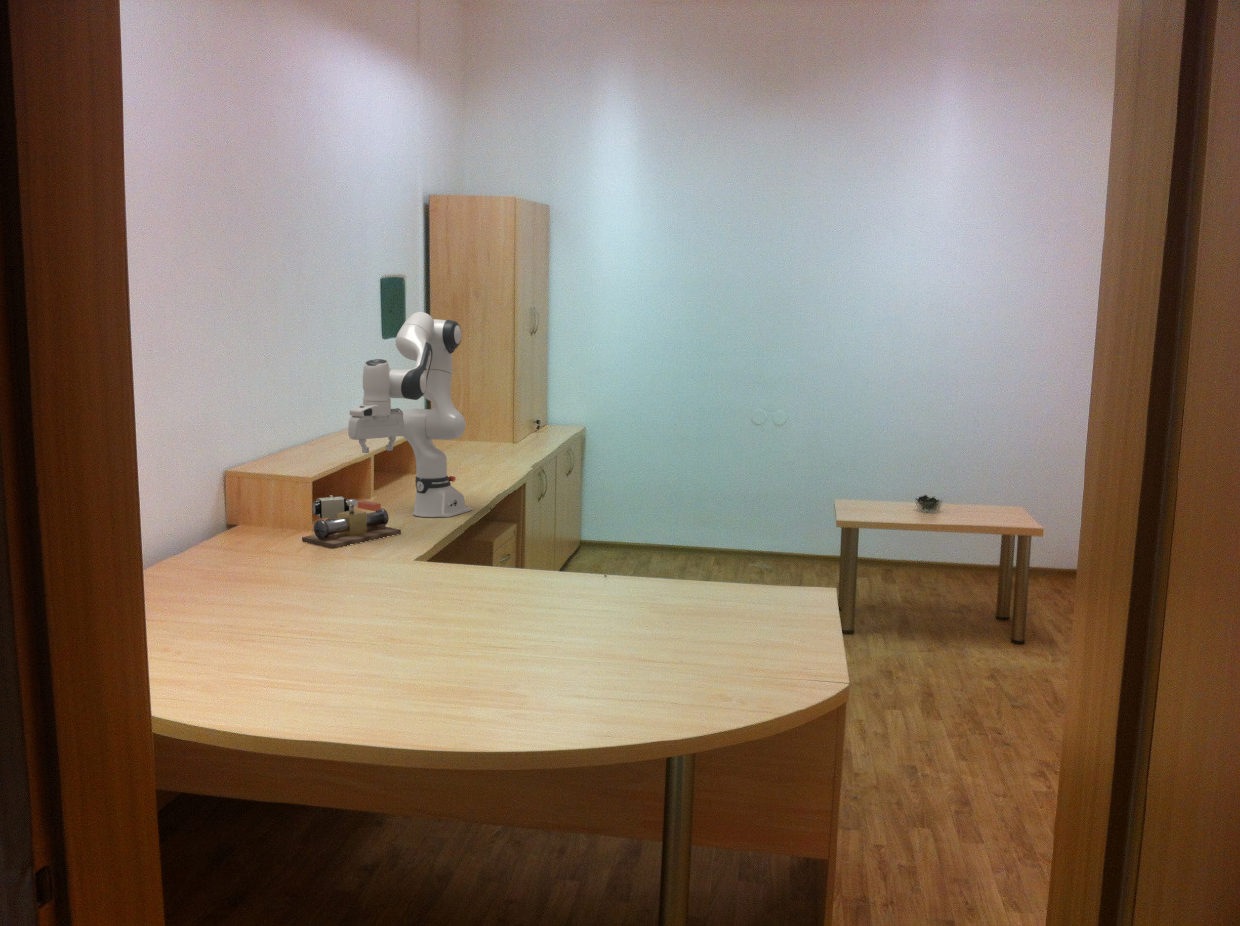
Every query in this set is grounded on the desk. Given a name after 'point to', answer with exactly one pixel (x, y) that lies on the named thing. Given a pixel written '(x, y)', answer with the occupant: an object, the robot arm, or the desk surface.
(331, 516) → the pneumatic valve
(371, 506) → the valve lever
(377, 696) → the desk surface
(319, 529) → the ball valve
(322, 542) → the dark brown base board
